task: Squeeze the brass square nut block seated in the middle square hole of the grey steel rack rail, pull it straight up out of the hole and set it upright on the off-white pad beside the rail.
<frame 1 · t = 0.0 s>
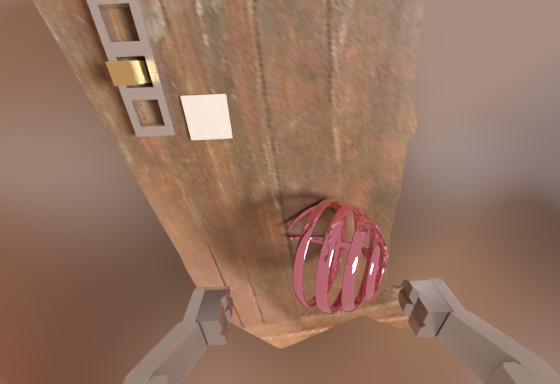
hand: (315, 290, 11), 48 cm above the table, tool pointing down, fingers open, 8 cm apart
nut block: (132, 72, 44), in the rack rail
rack rail: (143, 71, 48), on the table
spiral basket: (326, 222, 69), on the table
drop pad: (208, 117, 53), on the table
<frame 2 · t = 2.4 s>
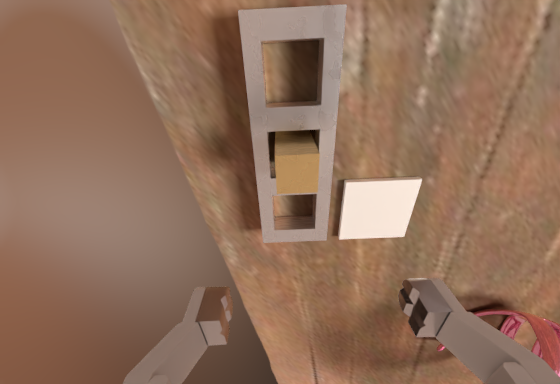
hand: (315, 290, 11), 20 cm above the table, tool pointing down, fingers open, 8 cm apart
nut block: (294, 158, 24), in the rack rail
rack rail: (292, 146, 28), on the table
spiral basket: (484, 324, 49), on the table
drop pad: (375, 208, 33), on the table
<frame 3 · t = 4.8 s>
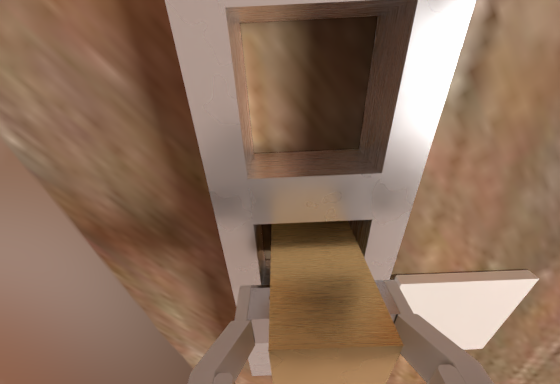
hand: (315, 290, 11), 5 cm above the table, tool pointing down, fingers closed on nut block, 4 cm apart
nut block: (313, 279, 11), in the rack rail, touching gripper
rack rail: (304, 227, 15), on the table
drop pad: (440, 311, 19), on the table
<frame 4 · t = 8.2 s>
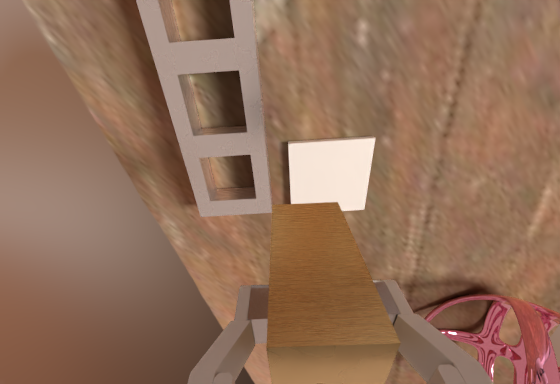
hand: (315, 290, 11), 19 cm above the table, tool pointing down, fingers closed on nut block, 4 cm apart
nut block: (313, 279, 11), point 18 cm above the table, touching gripper
rack rail: (221, 100, 24), on the table
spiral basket: (468, 312, 45), on the table
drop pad: (328, 176, 29), on the table
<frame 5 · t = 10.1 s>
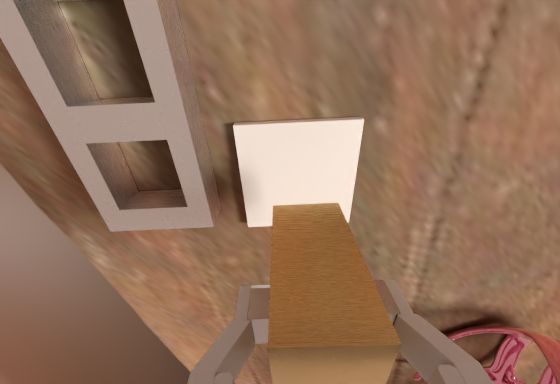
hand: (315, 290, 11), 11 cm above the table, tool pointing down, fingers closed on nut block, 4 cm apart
nut block: (313, 280, 11), point 11 cm above the table, touching gripper
rack rail: (121, 53, 15), on the table
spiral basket: (477, 343, 37), on the table
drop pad: (297, 176, 20), on the table
when the fingers open (7 cm above the table, at t = 11.7 s): nut block drops 1 cm, resting on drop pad.
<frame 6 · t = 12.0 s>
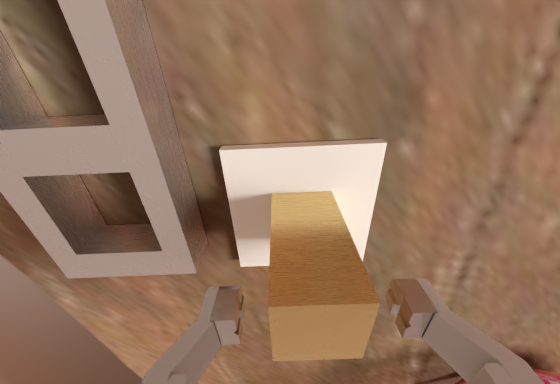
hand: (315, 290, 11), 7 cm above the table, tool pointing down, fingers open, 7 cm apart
nut block: (308, 259, 12), on the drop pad, point 5 cm above the table
rack rail: (70, 58, 12), on the table
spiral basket: (501, 382, 33), on the table
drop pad: (300, 208, 16), on the table
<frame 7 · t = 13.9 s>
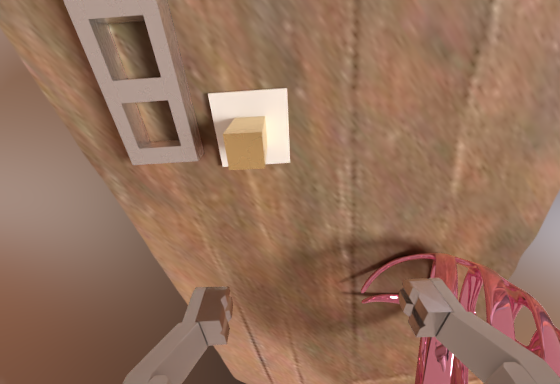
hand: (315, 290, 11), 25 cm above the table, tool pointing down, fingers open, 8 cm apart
nut block: (248, 140, 27), on the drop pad, point 5 cm above the table
rack rail: (141, 51, 26), on the table
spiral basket: (412, 276, 47), on the table
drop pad: (252, 129, 31), on the table
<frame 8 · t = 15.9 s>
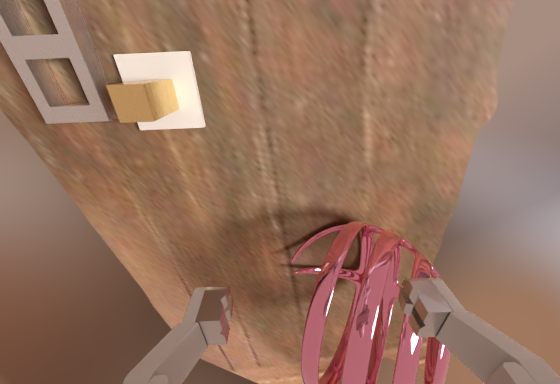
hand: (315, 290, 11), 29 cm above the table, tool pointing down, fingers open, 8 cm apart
nut block: (148, 98, 29), on the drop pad, point 5 cm above the table
rack rail: (44, 10, 28), on the table
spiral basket: (344, 248, 49), on the table
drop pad: (164, 93, 33), on the table
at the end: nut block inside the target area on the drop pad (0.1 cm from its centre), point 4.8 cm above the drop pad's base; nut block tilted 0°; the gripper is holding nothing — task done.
